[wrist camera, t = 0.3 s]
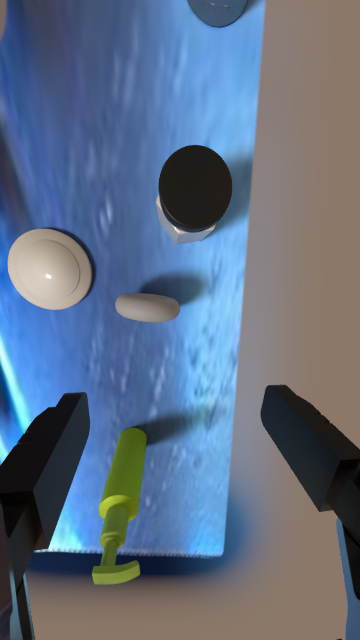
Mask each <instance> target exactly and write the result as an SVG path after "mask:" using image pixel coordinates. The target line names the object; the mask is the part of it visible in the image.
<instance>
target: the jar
mask: <svg viewBox="0 0 360 640" xmlns="http://www.w3.org/2000/svg"><path fill="white" fill-rule="evenodd" d="M231 195H232V179H231V175H230V172H229V169H228V167H227V165H226V163H225V162H224V160H223V159H222V158H221V157H220V156H219V155H218V154H217V153H216V152H215V151H213V150H212V149H210V148H208V147H205V146H201V145H190V146H186V147H183V148H181V149H179V150H177V151H176V152H174V153H173V154H172V155H171V156H170V157H169V158H168V160H167V161H166V162H165V164H164V166H163V168H162V171H161V174H160V178H159V195H158V198H157V200H156V204H157V211H158V218H159V222H160V224H161V225H162V227H163V228H164V229H165V231H166V232H167V233H168V235H169V236H170V238H171V239H172V240H173V242H174V243H175V244H183V243H191V242H198V241H202V240H203V239H204V238H205V237H206V236H207V235H208V234H209V233H210V232H212V231H213V230H214V228H215V226H216V223H217V222H218V221H219V220H220V219H221V217H222V216H223V214H224V213H225V211H226V209H227V208H228V205H229V203H230V199H231Z"/></svg>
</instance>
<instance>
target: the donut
mask: <svg viewBox="0 0 360 640" xmlns="http://www.w3.org/2000/svg"><path fill="white" fill-rule="evenodd" d="M115 307H116V310H117V311H118V313H119V314H121V315H122V316H124V317H126V318H129V319H133V320H137V321H145V322H165V321H170V320H172V319H175V318H176V317H177V316H178V314H179V312H180V305H179V303H178V302H177V301H176V300H175V299H173V298H171V297H167V296H162V295H155V294H146V293H125V294H122V295H120V296H119V297H118V299H117V300H116V303H115Z"/></svg>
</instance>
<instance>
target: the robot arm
mask: <svg viewBox="0 0 360 640" xmlns="http://www.w3.org/2000/svg"><path fill="white" fill-rule="evenodd" d="M187 1H188V3H189V6H190V7H191V9H192V11H193V12H194V14H195V15H196V16H197V17H198V18H199V19H200V20H201V21H203V22H204V23H206V24H208V25H211V26H216V27H220V26H226V25H228V24H230V23H232V22H233V21H235V20H236V19H237V18H238V17H239V16H240V14H241V13H242V12H243V10H244V8H245V6H246V5H247V2H248V0H187ZM261 420H262V423H263V426H264V427H265V429H266V430H267V432H268V434H269V435H270V437H271V438H272V440H273V441H274V443H275V444H276V446H277V447H278V449H279V451H280V452H281V454H282V455H283V457H284V458H285V460H286V461H287V463H288V464H289V466H290V468H291V469H292V471H293V472H294V474H295V475H296V477H297V478H298V480H299V481H300V483H301V485H302V486H303V487H304V489H305V491H306V492H307V494H308V495H309V497H310V498H311V500H312V501H313V503H314V505H315V506H316V507H317V509H318V511H319V512H323V511H330V510H333V511H334V512H335V513H336V515H337V516H338V518H337V521H336V527H337V533H338V541H339V548H340V554H341V561H342V567H343V574H344V581H345V588H346V594H347V601H348V602H347V603H348V615H347V622H346V640H360V449H359V448H358V447H356V446H355V445H354V444H353V443H352V442H351V441H350V440H349V439H348V438H347V437H345V435H344V434H343V433H342V432H340V431H339V430H338V429H337V428H336V427H335V426H334V425H333V424H332V423H330V422H329V420H328V419H326V417H324V416H323V415H321V413H320V412H319V411H318V410H317V409H316V408H315V407H314V406H313V405H311V403H309V402H307V401H306V400H304V399H303V398H301V397H299V396H297V395H296V394H295V393H294V392H293V391H292V390H291V389H290V388H289V387H288V386H286V385H269V386H267V387H266V390H265V394H264V399H263V403H262V408H261ZM89 430H90V417H89V408H88V399H87V394H86V393H85V392H80V393H65V394H64V395H63V396H62V398H61V399H60V401H59V402H58V404H57V405H56V407H48V408H47V409H46V410H45V411H43V412H42V413H41V414H40V415H38V416H37V417H36V418H35V419H34V420H33V422H32V423H31V424H30V426H29V427H28V428H27V430H26V432H25V434H23V435H22V437H21V438H20V439H19V441H18V442H17V445H16V446H14V448H13V449H12V450H11V452H10V453H9V454H8V456H7V457H6V459H5V460H4V461H3V463H2V464H1V465H0V640H35V635H34V629H33V623H32V616H31V610H30V603H29V597H28V590H27V584H26V578H25V571H26V568H27V566H28V563H29V561H30V558H31V556H32V553H33V551H35V550H42V549H48V547H49V545H50V542H51V539H52V536H53V534H54V531H55V528H56V525H57V522H58V520H59V517H60V514H61V511H62V509H63V506H64V503H65V500H66V497H67V495H68V492H69V489H70V486H71V484H72V481H73V478H74V475H75V472H76V470H77V467H78V464H79V461H80V459H81V456H82V453H83V450H84V447H85V445H86V442H87V439H88V436H89ZM338 640H342V639H338Z"/></svg>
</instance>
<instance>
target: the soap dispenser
mask: <svg viewBox="0 0 360 640" xmlns="http://www.w3.org/2000/svg"><path fill="white" fill-rule="evenodd" d="M146 443H147V436H146V434H145V433H144V432H143V431H142V430H141V429H138V428H128V429H126V430H124V431H123V432H122V433H121V434H120V437H119V440H118V444H117V447H116V451H115V454H114V458H113V461H112V464H111V468H110V471H109V475H108V478H107V482H106V485H105V489H104V492H103V496H102V499H101V502H100V506H99V514H100V516H101V517H102V518H103V519H104V524H103V528H102V532H101V536H100V544H101V546H102V547H104V552H103V556H102V561H101V565H100V566H94V568H93V572H92V575H93V580H94V584H118V583H122V582H126V581H128V580H131V579H133V578H135V577H137V576H139V575H140V569H139V564H138V562H137V561H133V562H130V563H128V564H124V565H116V566H114V565H115V559H116V554H117V549H118V548H120V547H122V546H123V545H124V543H125V539H126V533H127V527H128V522H130V521H131V520H133V519H134V518H135V517H136V515H137V513H138V509H139V501H140V493H141V484H142V476H143V468H144V459H145V451H146Z"/></svg>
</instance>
